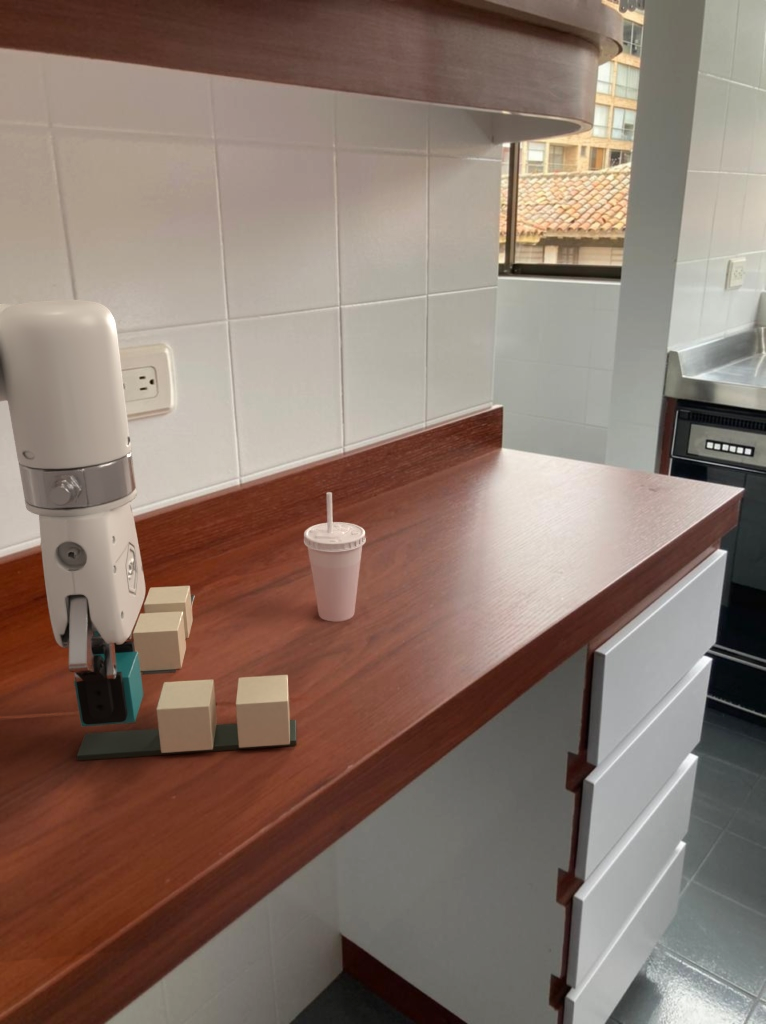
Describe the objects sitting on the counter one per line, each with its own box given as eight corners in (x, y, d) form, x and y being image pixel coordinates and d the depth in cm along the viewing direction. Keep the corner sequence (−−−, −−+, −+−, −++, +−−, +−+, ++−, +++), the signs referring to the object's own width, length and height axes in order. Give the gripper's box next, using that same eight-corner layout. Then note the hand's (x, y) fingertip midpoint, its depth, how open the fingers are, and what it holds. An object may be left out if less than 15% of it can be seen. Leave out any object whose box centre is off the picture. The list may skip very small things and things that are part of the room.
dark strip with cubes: (75, 765, 63) (68, 714, 62) (87, 734, 67) (80, 686, 65) (296, 749, 65) (294, 700, 63) (295, 720, 69) (293, 673, 67)
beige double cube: (136, 679, 75) (131, 635, 74) (163, 600, 91) (159, 562, 89) (181, 676, 75) (176, 632, 74) (199, 598, 91) (196, 561, 90)
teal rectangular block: (135, 722, 62) (128, 677, 61) (81, 726, 62) (73, 681, 61) (143, 694, 66) (137, 651, 65) (93, 698, 66) (86, 654, 64)
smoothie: (294, 615, 87) (289, 490, 83) (342, 598, 91) (339, 478, 86) (330, 637, 83) (326, 506, 78) (379, 618, 86) (378, 492, 82)
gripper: (109, 516, 50) (143, 766, 56) (152, 448, 66) (174, 649, 72) (-17, 523, 50) (31, 775, 56) (56, 452, 65) (87, 654, 71)
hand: (111, 701), depth 64 cm, fingers closed on teal rectangular block, 4 cm apart
